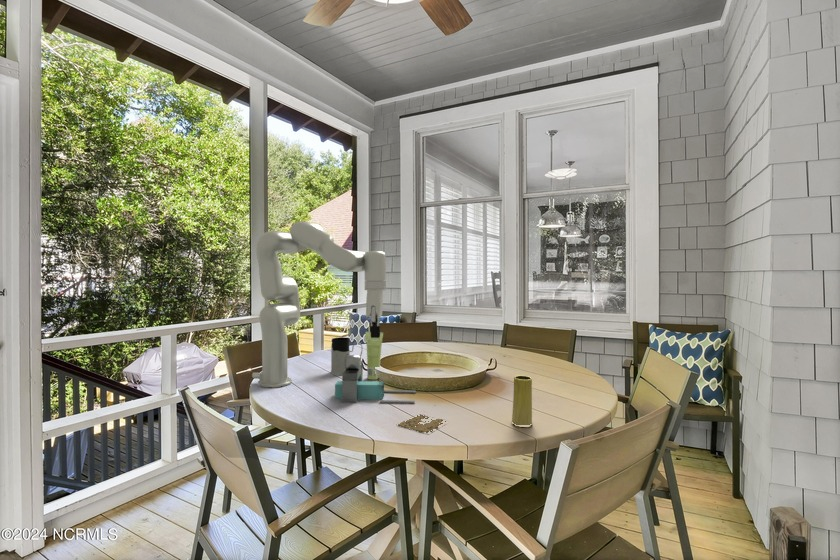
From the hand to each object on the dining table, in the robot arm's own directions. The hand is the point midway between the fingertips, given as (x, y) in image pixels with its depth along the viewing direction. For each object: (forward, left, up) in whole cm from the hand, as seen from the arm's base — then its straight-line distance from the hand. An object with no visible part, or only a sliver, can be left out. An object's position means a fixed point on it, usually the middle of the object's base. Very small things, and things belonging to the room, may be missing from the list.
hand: (375, 337), depth 155 cm
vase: (+47, -24, -22) cm, 57 cm away
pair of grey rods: (+8, 0, -22) cm, 23 cm away
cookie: (+17, -25, -22) cm, 38 cm away
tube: (-4, +25, -22) cm, 34 cm away
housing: (-8, 0, -22) cm, 23 cm away
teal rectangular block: (-5, 0, -22) cm, 22 cm away
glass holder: (-17, +33, -22) cm, 43 cm away
